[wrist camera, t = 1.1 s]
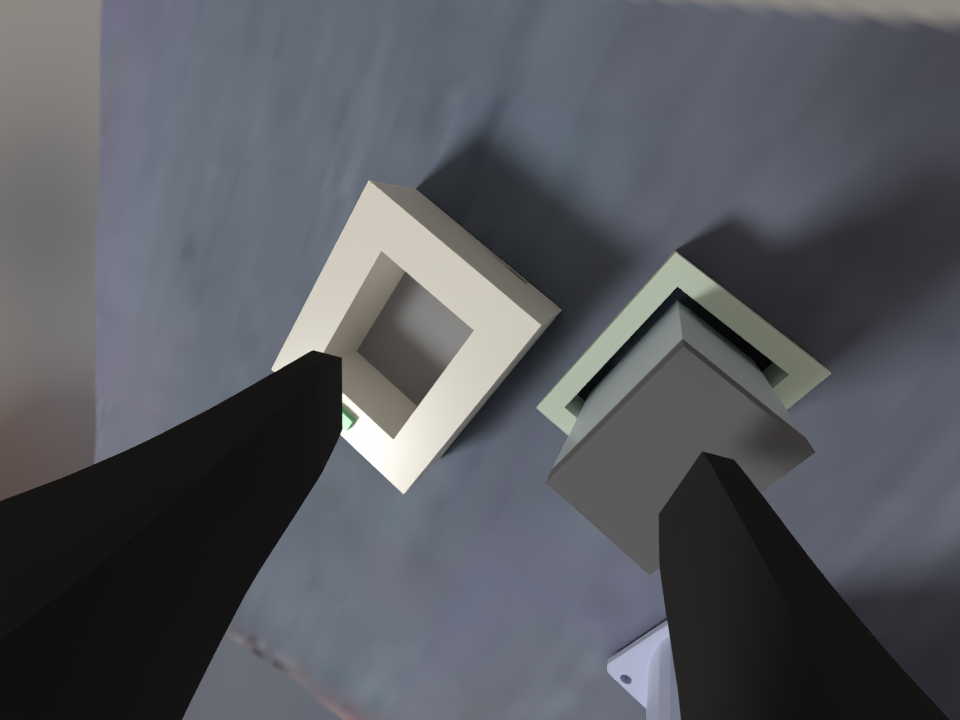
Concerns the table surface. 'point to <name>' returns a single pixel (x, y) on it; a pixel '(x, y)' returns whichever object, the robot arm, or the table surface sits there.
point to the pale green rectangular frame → (790, 362)
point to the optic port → (414, 328)
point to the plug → (670, 430)
